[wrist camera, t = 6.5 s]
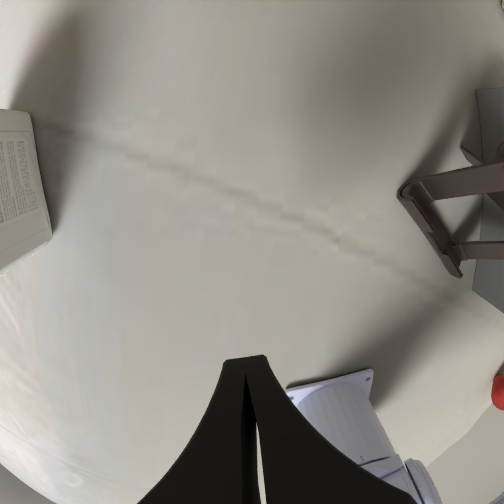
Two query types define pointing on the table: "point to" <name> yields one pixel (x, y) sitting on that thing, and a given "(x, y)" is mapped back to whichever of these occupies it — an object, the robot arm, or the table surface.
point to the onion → (498, 392)
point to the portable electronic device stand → (449, 186)
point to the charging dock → (493, 217)
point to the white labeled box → (20, 192)
